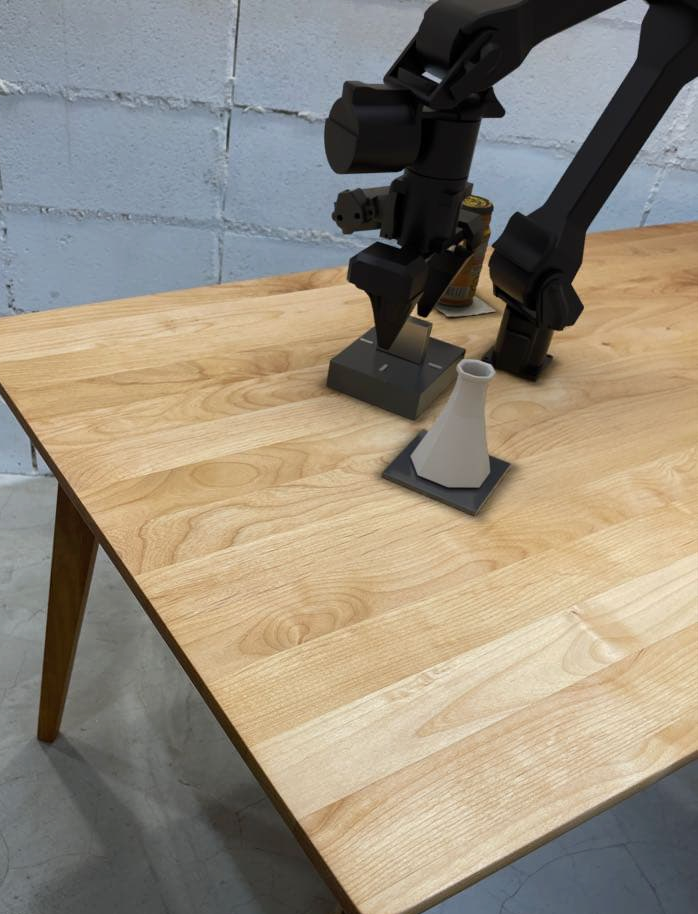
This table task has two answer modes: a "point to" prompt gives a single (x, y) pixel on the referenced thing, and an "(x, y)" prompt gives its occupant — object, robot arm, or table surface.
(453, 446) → the flask
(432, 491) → the coaster
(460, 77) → the robot arm
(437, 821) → the table surface
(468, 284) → the condiment
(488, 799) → the table surface
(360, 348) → the panel
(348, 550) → the table surface
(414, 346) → the knob
